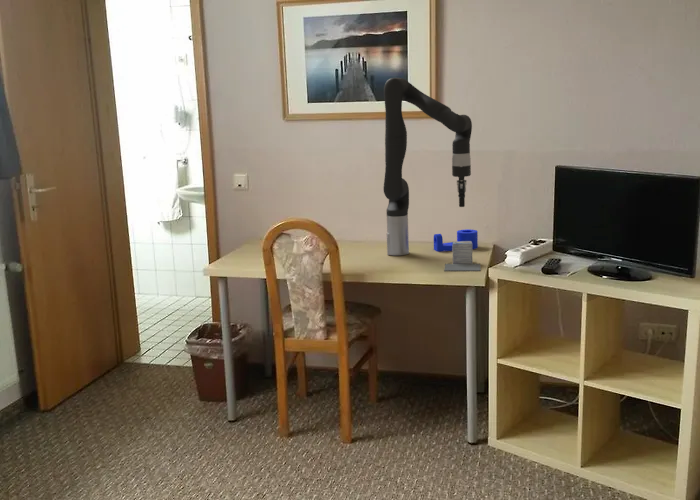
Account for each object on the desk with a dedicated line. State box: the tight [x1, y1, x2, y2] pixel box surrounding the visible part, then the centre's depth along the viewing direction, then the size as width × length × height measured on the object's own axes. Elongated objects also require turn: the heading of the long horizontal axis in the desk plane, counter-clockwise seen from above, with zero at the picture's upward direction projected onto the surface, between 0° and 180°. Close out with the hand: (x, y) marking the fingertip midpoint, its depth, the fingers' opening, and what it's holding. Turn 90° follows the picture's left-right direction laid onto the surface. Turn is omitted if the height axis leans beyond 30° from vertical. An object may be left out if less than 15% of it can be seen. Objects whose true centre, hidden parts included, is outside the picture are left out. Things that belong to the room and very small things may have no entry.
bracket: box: [433, 229, 479, 253], centre depth 319 cm, size 20×9×8 cm, turn 103°
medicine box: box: [452, 241, 474, 264], centre depth 291 cm, size 8×4×9 cm, turn 84°
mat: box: [443, 263, 482, 272], centre depth 284 cm, size 14×11×1 cm
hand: (461, 205), depth 296 cm, fingers open, 3 cm apart
